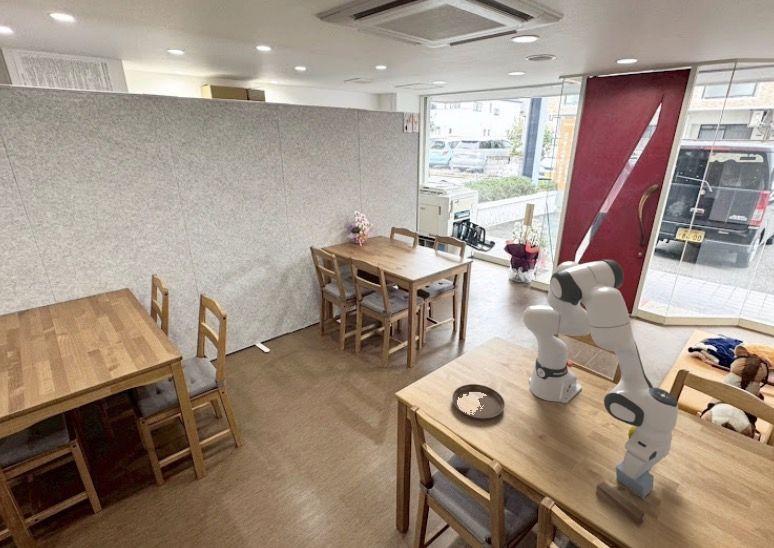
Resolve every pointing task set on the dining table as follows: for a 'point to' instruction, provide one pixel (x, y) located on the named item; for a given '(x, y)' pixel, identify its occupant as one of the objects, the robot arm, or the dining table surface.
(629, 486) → the block
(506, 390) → the dining table surface
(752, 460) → the dining table surface
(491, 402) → the plant saucer
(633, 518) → the brown rectangular bar
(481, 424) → the dining table surface
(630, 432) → the lemon
